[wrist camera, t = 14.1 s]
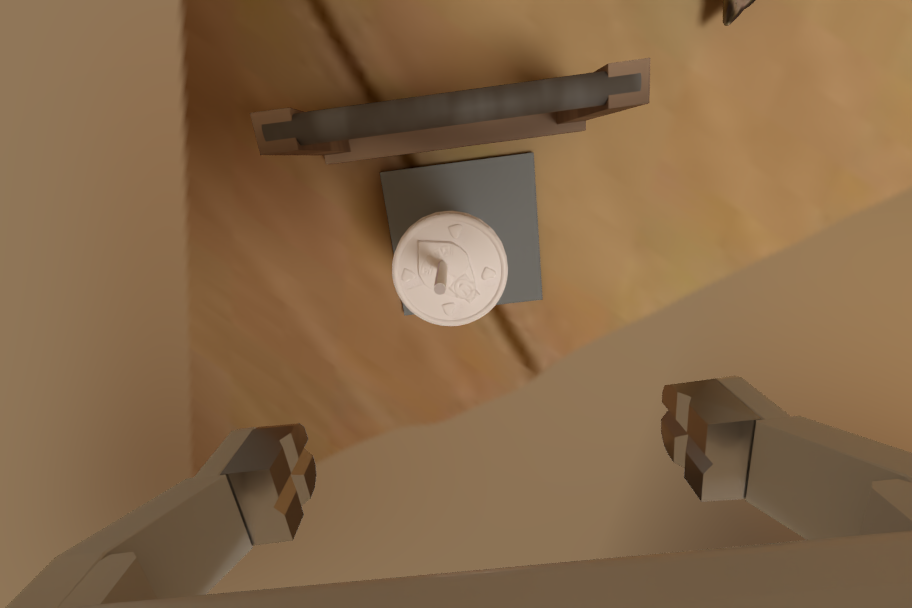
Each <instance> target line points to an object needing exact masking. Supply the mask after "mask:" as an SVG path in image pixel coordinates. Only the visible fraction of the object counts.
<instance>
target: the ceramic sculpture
mask: <svg viewBox="0 0 912 608" xmlns="http://www.w3.org/2000/svg"><path fill="white" fill-rule="evenodd" d="M754 1H755V0H723V4H724V5H723V23H724V25H725V26H729V25H730V24H731V23H732V22H733V21H734V20H735V19H736V18H737V17H738V16H739V15H740V14H741V13H742V11H743V10H744V9H746V8H747V7H749V6H750V5H751V4H752V3H753V2H754Z"/></svg>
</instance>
